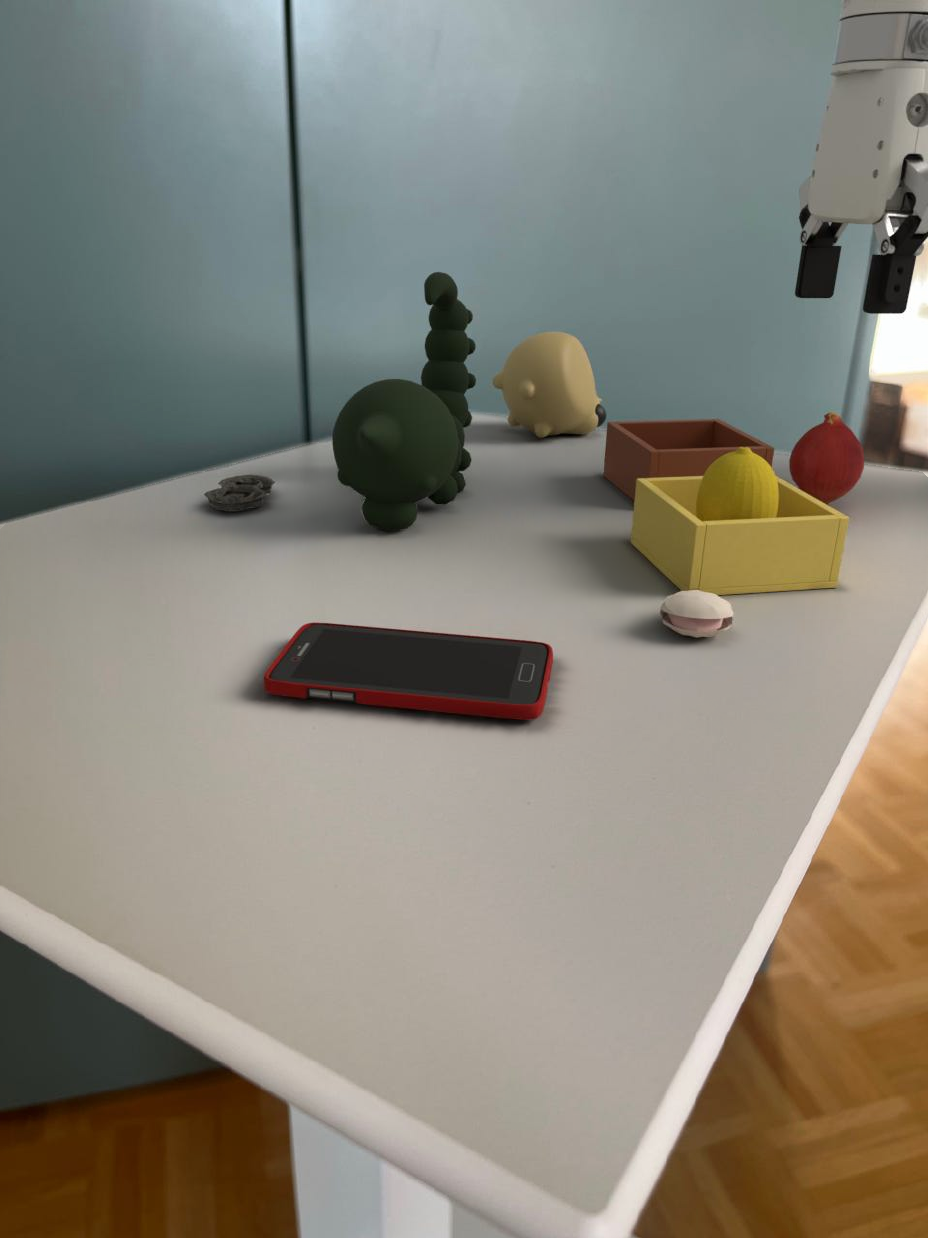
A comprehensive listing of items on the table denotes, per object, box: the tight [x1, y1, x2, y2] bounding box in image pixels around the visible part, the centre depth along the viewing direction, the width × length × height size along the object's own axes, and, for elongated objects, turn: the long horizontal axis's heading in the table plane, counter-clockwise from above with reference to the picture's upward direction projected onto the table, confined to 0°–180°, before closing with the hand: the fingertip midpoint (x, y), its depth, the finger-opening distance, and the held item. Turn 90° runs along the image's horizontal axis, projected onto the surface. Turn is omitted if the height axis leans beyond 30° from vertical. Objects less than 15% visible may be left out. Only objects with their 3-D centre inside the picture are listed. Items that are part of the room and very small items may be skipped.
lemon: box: [696, 447, 779, 522], centre depth 70 cm, size 6×6×8 cm
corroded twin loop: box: [204, 474, 276, 512], centre depth 83 cm, size 5×8×1 cm, turn 175°
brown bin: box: [603, 418, 775, 502], centre depth 87 cm, size 11×11×5 cm
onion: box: [789, 411, 865, 505], centre depth 83 cm, size 6×6×8 cm
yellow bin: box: [630, 475, 850, 596], centre depth 71 cm, size 11×11×5 cm
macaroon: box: [659, 590, 734, 639], centre depth 61 cm, size 4×5×2 cm
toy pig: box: [492, 331, 607, 439], centre depth 105 cm, size 10×12×11 cm
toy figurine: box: [331, 271, 477, 532], centre depth 79 cm, size 9×19×25 cm
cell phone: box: [263, 622, 554, 721], centre depth 54 cm, size 8×15×1 cm, turn 81°
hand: (846, 304), depth 77 cm, fingers open, 9 cm apart
